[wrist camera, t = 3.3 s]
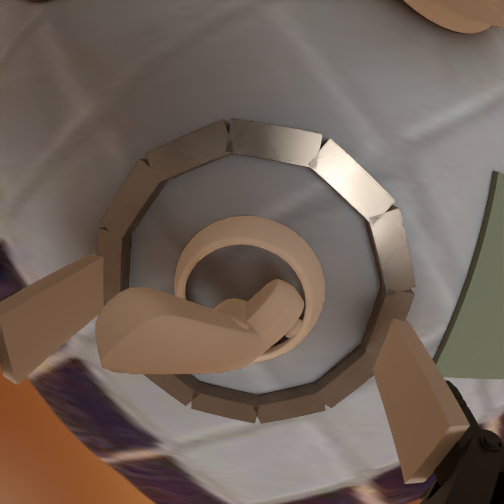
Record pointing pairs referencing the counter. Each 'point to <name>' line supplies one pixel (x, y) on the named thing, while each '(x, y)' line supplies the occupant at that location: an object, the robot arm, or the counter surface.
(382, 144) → the counter surface
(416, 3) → the jar
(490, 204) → the rubber mat
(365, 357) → the metal ring
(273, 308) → the hook
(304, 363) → the counter surface
